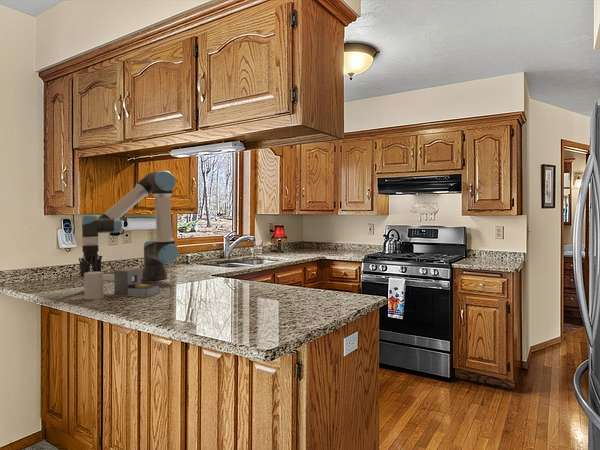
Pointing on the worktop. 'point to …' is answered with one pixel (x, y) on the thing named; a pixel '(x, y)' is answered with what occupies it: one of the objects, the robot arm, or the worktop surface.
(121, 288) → the bearing block
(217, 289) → the worktop surface
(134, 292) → the tray
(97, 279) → the grey upright block
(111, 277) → the shaft
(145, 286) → the spacer
